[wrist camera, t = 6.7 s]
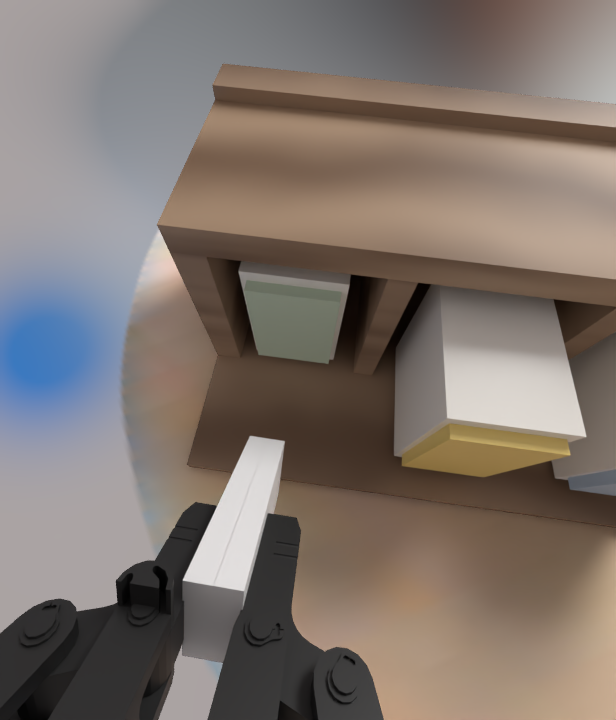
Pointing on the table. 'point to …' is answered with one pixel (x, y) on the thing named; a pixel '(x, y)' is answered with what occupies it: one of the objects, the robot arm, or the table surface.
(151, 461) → the table surface
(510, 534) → the table surface
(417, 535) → the table surface
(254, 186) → the brown boxy piece
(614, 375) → the white and blue block
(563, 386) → the mustard key
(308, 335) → the sage key
